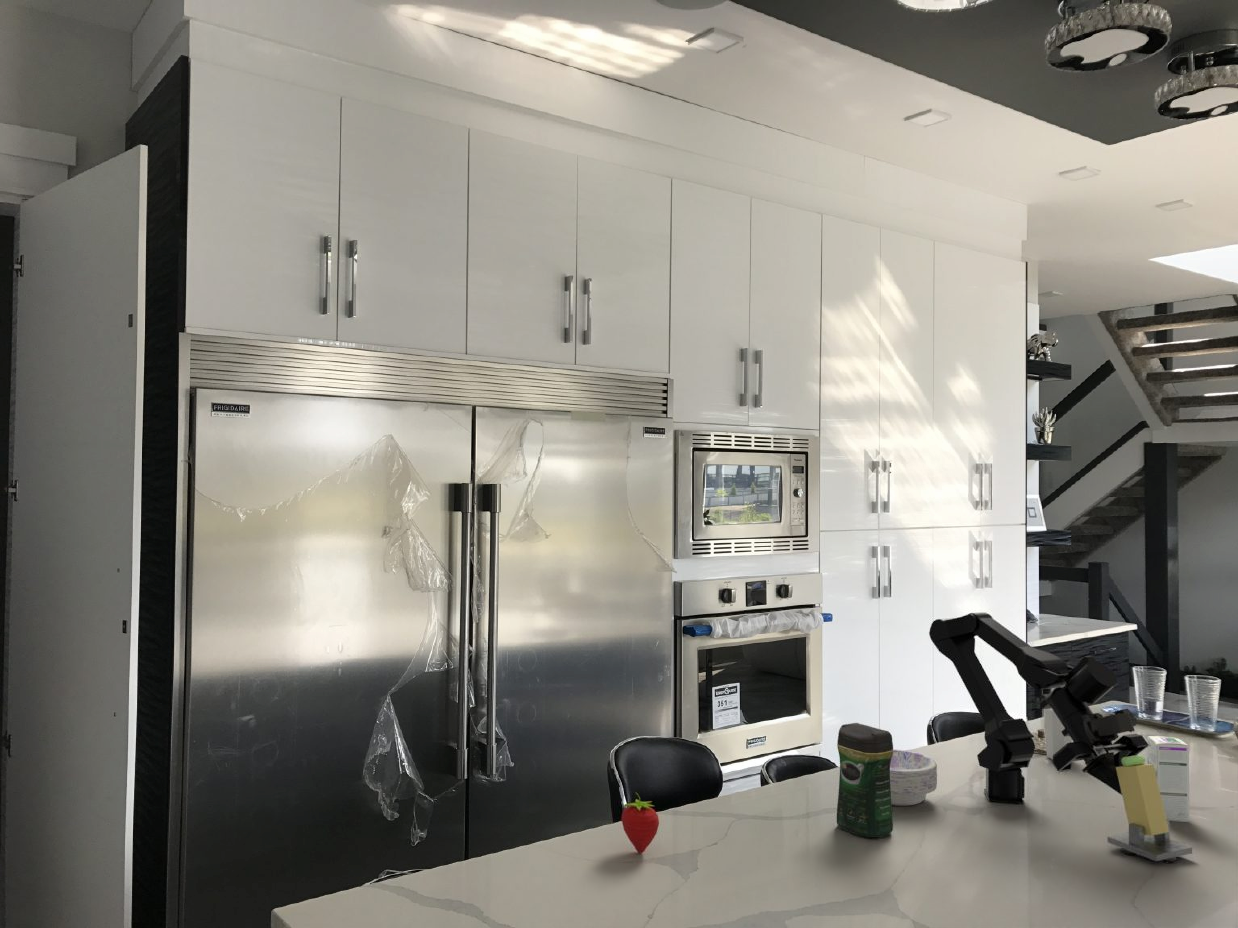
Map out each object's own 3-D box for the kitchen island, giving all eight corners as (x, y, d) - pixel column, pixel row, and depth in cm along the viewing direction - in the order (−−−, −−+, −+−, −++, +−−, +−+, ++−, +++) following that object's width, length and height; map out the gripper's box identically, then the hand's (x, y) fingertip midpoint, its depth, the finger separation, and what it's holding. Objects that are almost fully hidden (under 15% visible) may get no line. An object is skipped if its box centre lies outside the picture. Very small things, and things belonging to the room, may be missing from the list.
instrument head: (1130, 834, 163) (1113, 757, 166) (1148, 830, 165) (1130, 754, 168) (1151, 835, 159) (1133, 756, 163) (1169, 831, 161) (1151, 754, 165)
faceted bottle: (1078, 761, 218) (1078, 665, 218) (1050, 761, 218) (1050, 664, 218) (1065, 754, 224) (1066, 660, 225) (1038, 753, 224) (1038, 659, 225)
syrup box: (1190, 822, 178) (1191, 744, 178) (1156, 819, 179) (1156, 742, 180) (1179, 812, 184) (1179, 736, 184) (1146, 809, 185) (1146, 734, 185)
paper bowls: (851, 804, 185) (852, 763, 185) (862, 782, 199) (863, 744, 199) (934, 816, 179) (934, 773, 179) (939, 792, 193) (939, 753, 193)
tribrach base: (1107, 848, 164) (1107, 817, 164) (1142, 840, 168) (1142, 811, 168) (1156, 867, 156) (1156, 835, 156) (1192, 859, 160) (1192, 827, 160)
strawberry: (633, 863, 154) (634, 801, 154) (613, 847, 160) (615, 787, 161) (666, 858, 156) (667, 796, 156) (645, 842, 163) (646, 783, 163)
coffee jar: (900, 834, 169) (901, 728, 170) (870, 842, 165) (871, 734, 165) (858, 818, 177) (860, 717, 178) (828, 825, 173) (830, 722, 173)
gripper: (1067, 697, 167) (1123, 779, 157) (1139, 689, 175) (1197, 767, 164) (1030, 730, 174) (1080, 811, 164) (1101, 722, 182) (1153, 798, 172)
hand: (1129, 796), depth 166 cm, fingers closed, pressing on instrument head
